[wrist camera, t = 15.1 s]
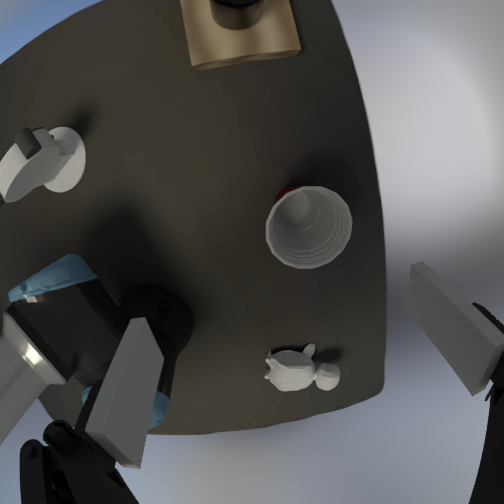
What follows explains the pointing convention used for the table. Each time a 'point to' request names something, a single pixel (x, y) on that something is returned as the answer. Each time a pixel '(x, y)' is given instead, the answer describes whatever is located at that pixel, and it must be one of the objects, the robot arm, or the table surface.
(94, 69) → the table surface
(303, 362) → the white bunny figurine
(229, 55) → the oak block
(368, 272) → the table surface
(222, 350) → the table surface
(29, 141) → the disc-based toy figure
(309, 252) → the plastic cup
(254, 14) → the supplement bottle
